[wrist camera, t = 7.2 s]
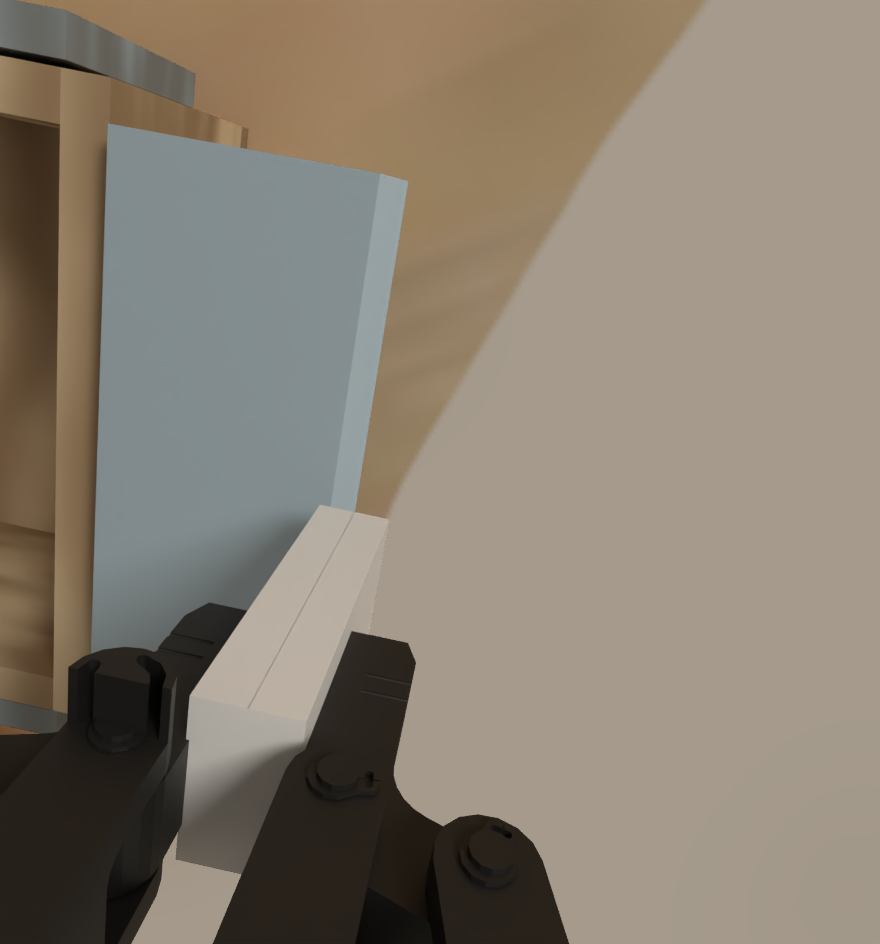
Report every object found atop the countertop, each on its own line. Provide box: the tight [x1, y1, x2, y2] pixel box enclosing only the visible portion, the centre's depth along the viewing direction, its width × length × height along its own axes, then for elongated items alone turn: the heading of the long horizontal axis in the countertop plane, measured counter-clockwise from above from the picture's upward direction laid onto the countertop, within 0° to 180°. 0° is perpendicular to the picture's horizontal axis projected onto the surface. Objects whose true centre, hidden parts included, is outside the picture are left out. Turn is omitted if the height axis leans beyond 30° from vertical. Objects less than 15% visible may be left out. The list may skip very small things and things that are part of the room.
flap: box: [91, 123, 408, 654], centre depth 18 cm, size 1×16×7 cm
